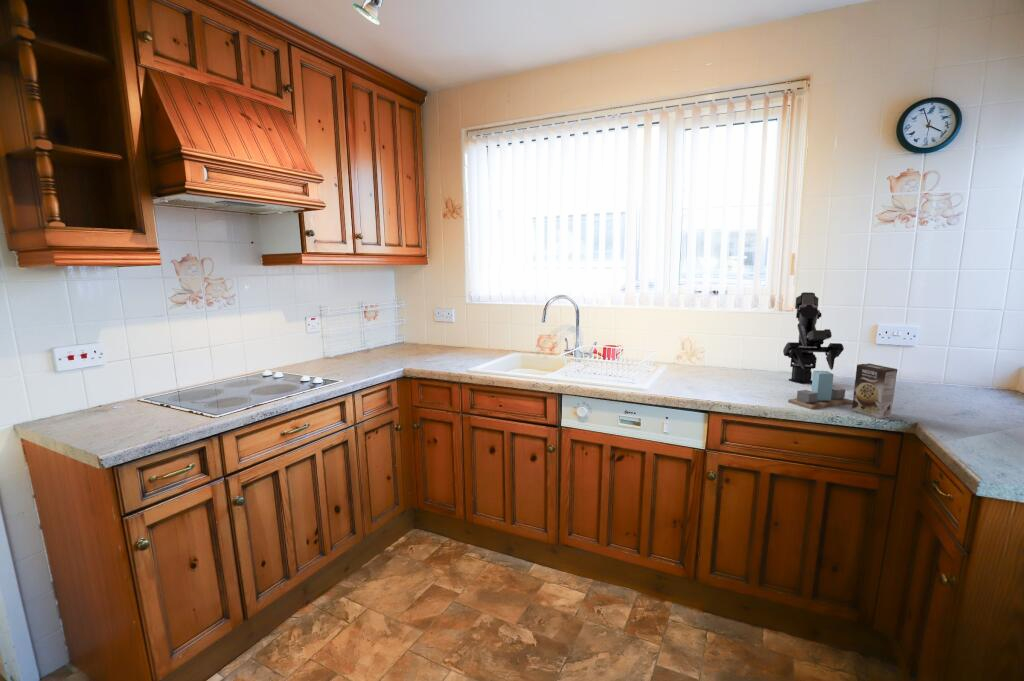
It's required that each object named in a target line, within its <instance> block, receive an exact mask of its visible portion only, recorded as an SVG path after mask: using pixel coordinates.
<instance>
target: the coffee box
mask: <svg viewBox="0 0 1024 681" xmlns="http://www.w3.org/2000/svg"><path fill="white" fill-rule="evenodd" d="M897 376H898V369H897V368H893V367H889V366H884V365H879V364H874V363H860V364H859V363H858V364H857V365H856V371H855V380H854V388H853V397H852V400H853V403H851V404H852V405H851V411H852V412H854V411H855V413H859V414H861V415H865V416H869V417H871V418H876V419H884V418H889V417H890V418H891V417H892V410H893V403H894V396H895V395H894V394H895V388H896V383H897Z"/></svg>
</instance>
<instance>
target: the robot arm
mask: <svg viewBox="0 0 1024 681" xmlns="http://www.w3.org/2000/svg"><path fill="white" fill-rule="evenodd" d="M794 304H795V305H794V306H795V307H794V309H796V314H795V316H796V317H795V319H797V321H798V323H797V330H798V342H790V341H789V342H787V343H786V344H785V346H784V347H783V350H782V352H783V356H784V357H788V358H790V365H789V367H790V368H792V369H791V370H792V371H791V378H788V381H792V382H794V383H798V384H808V383H812V376H813V372H812V370H814V369H816V367H817V360H818V358H817V356H816V354H815V353H825V356H826V357H825V360H826V362H827V365H828V367H829V369H830V370H831V371H832V370H833V369H834V367H835V366H834V365H835V359H836V358H838V357H840V355H841V354H842V352H843V351H844V349H845V348H844V345H843V343H841V342H840V343H839V342H837V343H836V342H835V343H834V342H829V344H828V345H827V346H822V345H823V344H824V343H825V342H824V341H825V340H829V339H830V338H832V331H831V329H830V328H829V329H826V328H825V329H824V330H819V329H817V326H816V324H817V321H818V320H820V318H822V312H821V311H820V309H819V308H818V307H819V297H817V296H816V294H815V292H808V291H807V292H806V291H804V292H801V293H800V295H799V296H796V297H795V303H794Z"/></svg>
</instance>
